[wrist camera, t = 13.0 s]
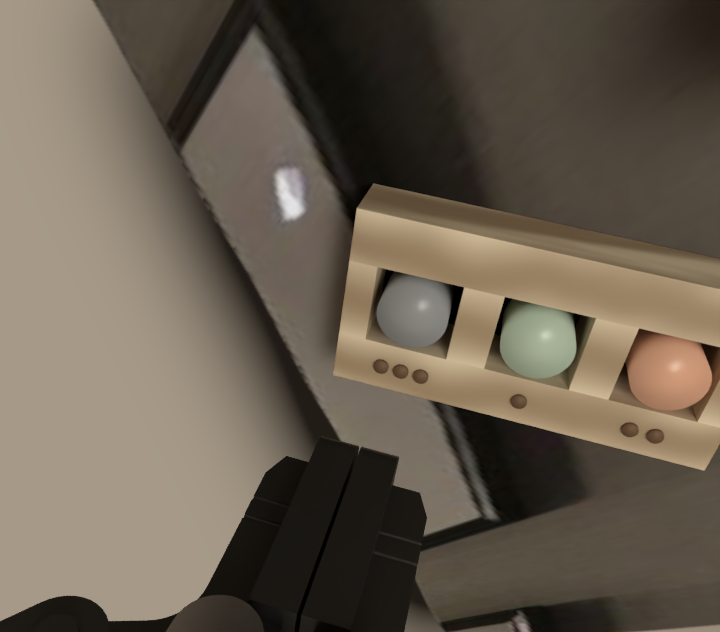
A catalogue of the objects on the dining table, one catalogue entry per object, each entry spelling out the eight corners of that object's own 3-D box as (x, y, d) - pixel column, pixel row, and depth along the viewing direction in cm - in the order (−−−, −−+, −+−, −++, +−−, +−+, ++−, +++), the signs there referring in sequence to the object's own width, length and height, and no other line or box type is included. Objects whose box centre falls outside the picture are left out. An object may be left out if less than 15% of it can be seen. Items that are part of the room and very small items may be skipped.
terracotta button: (638, 311, 37) (645, 339, 34) (712, 328, 36) (725, 358, 34) (613, 369, 39) (618, 399, 36) (684, 386, 38) (693, 418, 36)
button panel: (373, 183, 38) (355, 209, 35) (773, 270, 35) (799, 308, 32) (349, 340, 44) (332, 376, 40) (691, 426, 41) (705, 472, 38)
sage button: (512, 282, 38) (510, 308, 35) (583, 299, 37) (586, 325, 35) (495, 340, 40) (492, 368, 37) (562, 356, 39) (563, 385, 37)
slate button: (393, 254, 39) (382, 277, 36) (460, 270, 38) (454, 294, 36) (382, 312, 41) (371, 338, 38) (446, 328, 40) (440, 354, 38)
